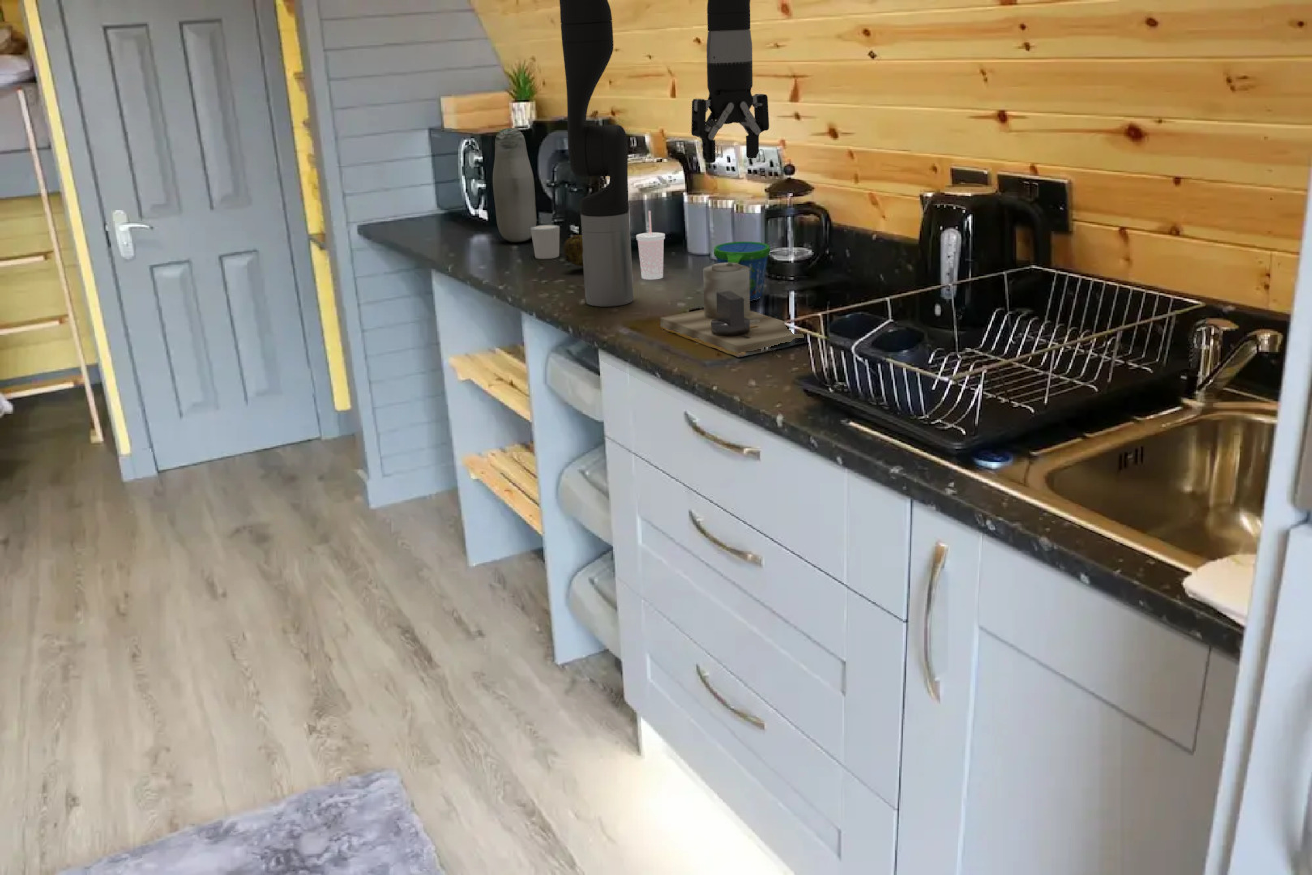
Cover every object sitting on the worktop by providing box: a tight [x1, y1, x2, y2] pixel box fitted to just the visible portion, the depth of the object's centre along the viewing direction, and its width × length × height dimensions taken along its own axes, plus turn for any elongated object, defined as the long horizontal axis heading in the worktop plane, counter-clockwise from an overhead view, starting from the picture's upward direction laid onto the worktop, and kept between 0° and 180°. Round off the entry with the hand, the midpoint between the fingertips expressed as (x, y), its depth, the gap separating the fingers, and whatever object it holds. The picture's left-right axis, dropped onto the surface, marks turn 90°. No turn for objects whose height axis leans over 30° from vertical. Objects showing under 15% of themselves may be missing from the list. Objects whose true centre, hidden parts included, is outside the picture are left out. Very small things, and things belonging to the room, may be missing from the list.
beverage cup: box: [635, 210, 666, 280], centre depth 234 cm, size 6×6×14 cm
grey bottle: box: [492, 127, 537, 243], centre depth 279 cm, size 10×10×28 cm
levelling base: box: [659, 262, 804, 353], centre depth 188 cm, size 24×15×11 cm, turn 31°
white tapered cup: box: [530, 224, 560, 260], centre depth 262 cm, size 7×7×7 cm
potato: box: [563, 234, 583, 267], centre depth 246 cm, size 8×13×8 cm, turn 111°
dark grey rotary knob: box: [711, 291, 760, 335], centre depth 183 cm, size 8×6×6 cm
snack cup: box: [713, 241, 771, 300], centre depth 213 cm, size 16×10×10 cm
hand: (731, 160), depth 189 cm, fingers open, 8 cm apart
